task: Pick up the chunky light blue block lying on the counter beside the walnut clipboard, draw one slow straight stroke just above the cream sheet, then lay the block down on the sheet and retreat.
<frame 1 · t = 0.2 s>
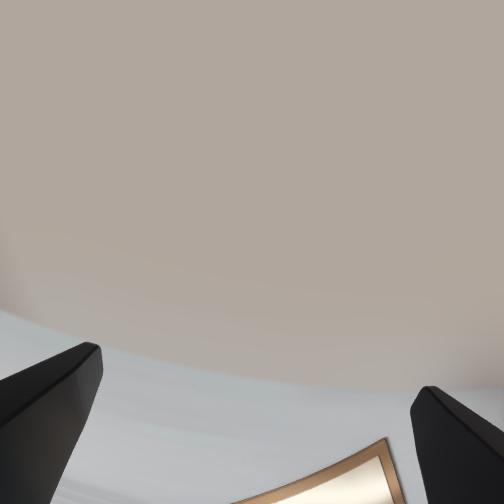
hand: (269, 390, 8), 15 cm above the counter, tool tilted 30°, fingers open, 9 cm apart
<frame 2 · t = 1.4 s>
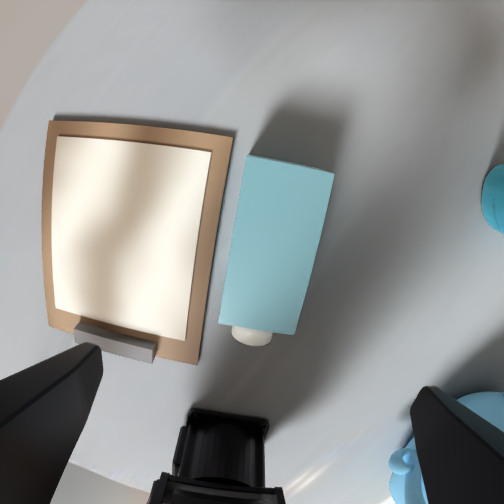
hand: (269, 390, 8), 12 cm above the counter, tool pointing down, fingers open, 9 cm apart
light blue block: (267, 244, 19), on the counter
tube: (499, 198, 18), on the counter
clipboard: (119, 246, 19), on the counter
decorative pot: (449, 430, 25), on the counter
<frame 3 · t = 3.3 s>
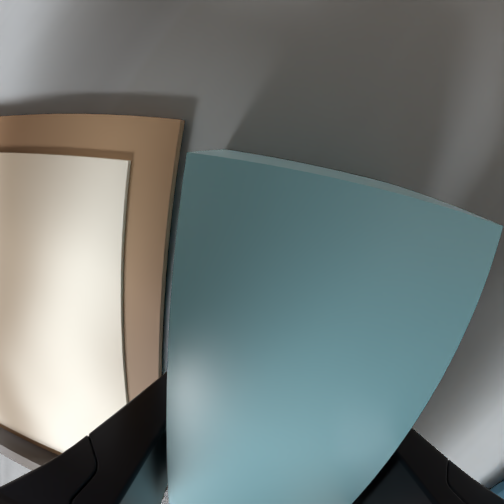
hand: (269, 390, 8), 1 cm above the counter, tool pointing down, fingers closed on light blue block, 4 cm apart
light blue block: (271, 353, 9), on the counter, touching gripper
clipboard: (9, 339, 9), on the counter
decorative pot: (490, 502, 15), on the counter
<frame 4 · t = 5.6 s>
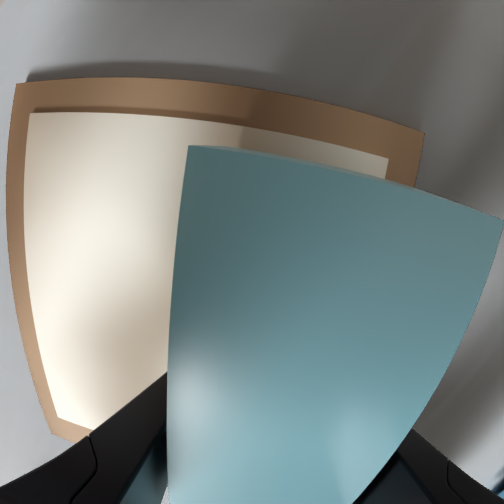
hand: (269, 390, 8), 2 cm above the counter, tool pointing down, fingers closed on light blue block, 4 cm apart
light blue block: (272, 351, 9), point 1 cm above the counter, touching gripper
clipboard: (169, 338, 10), on the counter
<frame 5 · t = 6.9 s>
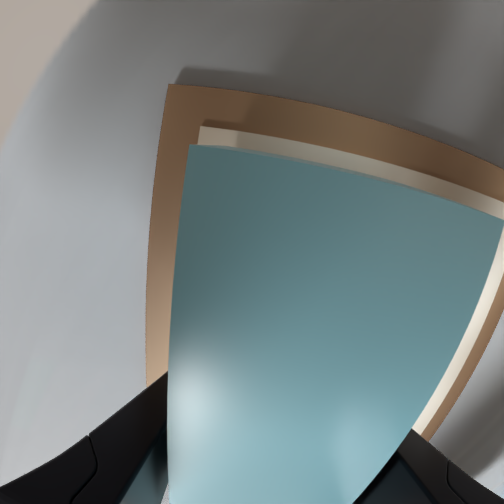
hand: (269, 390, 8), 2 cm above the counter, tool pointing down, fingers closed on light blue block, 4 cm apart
light blue block: (272, 350, 9), point 1 cm above the counter, touching gripper
clipboard: (333, 367, 10), on the counter
when the fingers open (2 cm above the counter, at t = 8.1 s): light blue block stays where it is, resting on clipboard.
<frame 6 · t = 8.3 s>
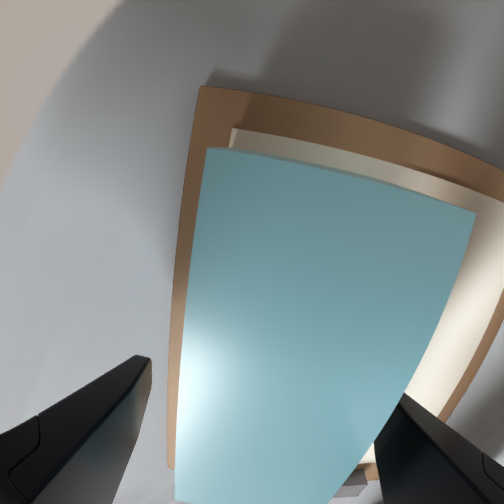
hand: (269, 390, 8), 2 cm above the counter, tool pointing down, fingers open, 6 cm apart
light blue block: (271, 336, 9), point 1 cm above the counter, touching clipboard
clipboard: (350, 361, 10), on the counter
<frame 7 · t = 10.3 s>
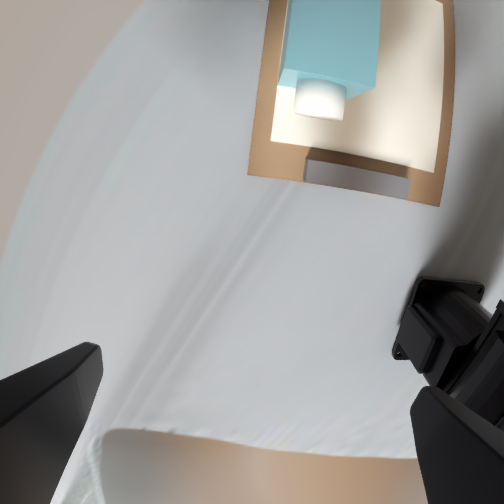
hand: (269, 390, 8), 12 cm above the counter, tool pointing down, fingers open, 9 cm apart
light blue block: (320, 36, 14), point 1 cm above the counter, touching clipboard
clipboard: (366, 66, 15), on the counter
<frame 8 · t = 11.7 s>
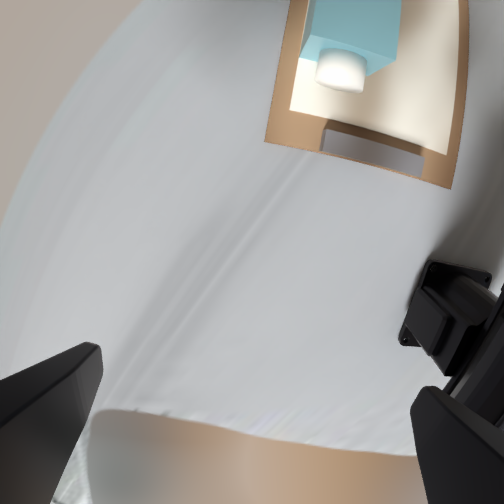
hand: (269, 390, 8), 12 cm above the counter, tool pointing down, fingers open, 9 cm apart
light blue block: (342, 16, 14), point 1 cm above the counter, touching clipboard
clipboard: (385, 48, 15), on the counter
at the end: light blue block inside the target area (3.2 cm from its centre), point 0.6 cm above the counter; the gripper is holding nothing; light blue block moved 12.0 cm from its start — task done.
